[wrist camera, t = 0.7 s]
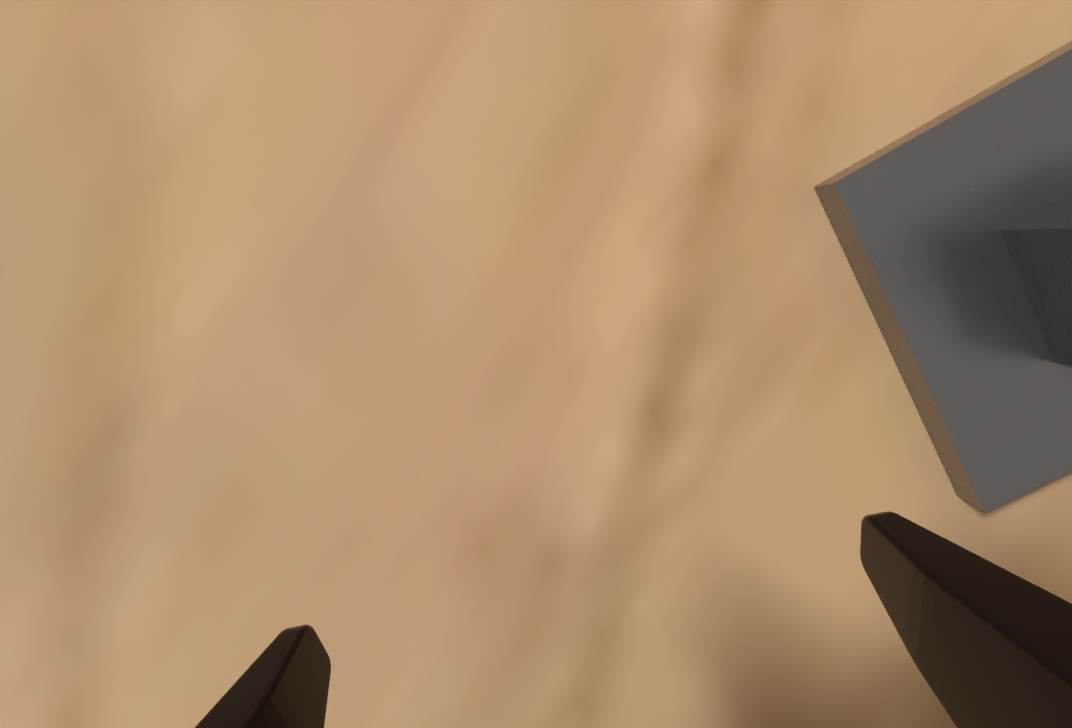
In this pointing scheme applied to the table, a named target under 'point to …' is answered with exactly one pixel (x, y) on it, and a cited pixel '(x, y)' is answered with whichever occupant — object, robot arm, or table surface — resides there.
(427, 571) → the table surface
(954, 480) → the stand
